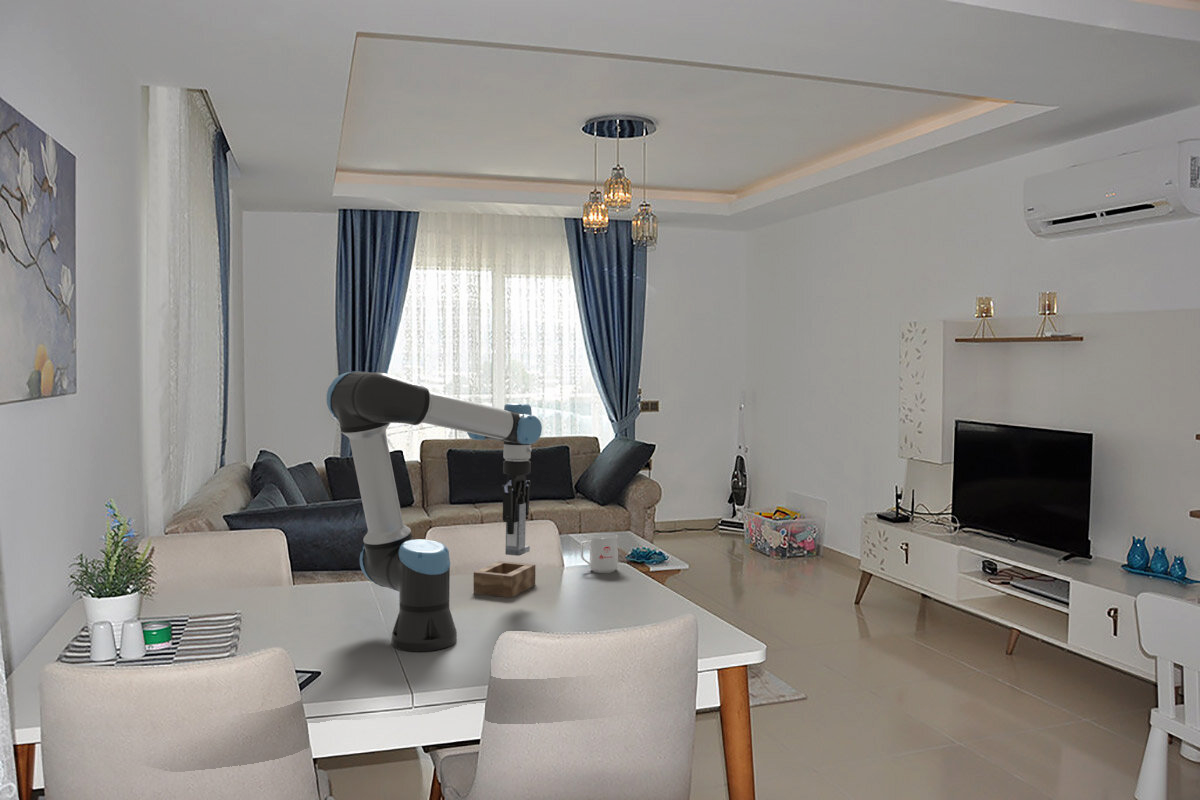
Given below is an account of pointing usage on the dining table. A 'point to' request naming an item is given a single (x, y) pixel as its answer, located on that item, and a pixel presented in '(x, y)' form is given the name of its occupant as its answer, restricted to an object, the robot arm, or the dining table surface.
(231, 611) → the dining table surface
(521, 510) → the bracket
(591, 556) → the mug
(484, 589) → the box
